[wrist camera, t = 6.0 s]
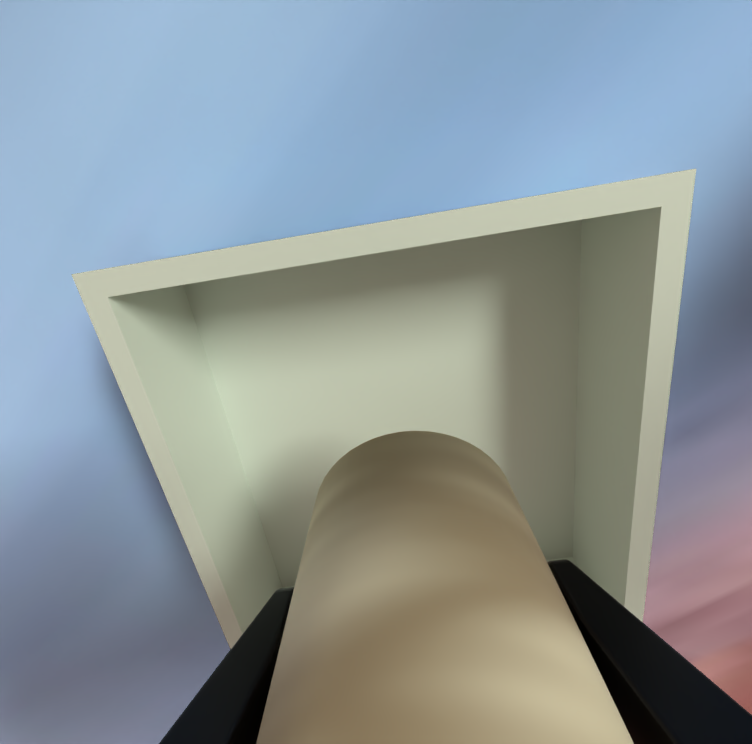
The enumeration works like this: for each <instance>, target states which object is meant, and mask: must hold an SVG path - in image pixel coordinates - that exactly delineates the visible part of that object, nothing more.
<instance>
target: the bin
mask: <svg viewBox="0 0 752 744" xmlns="http://www.w3.org/2000/svg"><path fill="white" fill-rule="evenodd" d="M695 174H696V169H691V170H685V171H679V172H673V173H668V174H662V175H656V176H650V177H644V178H638V179H632V180H626V181H620V182H614V183H609V184H603V185H597V186H591V187H585V188H579V189H573V190H567V191H561V192H555V193H549V194H544V195H538V196H532V197H526V198H520V199H514V200H508V201H502V202H496V203H490V204H484V205H479V206H473V207H467V208H461V209H455V210H449V211H443V212H437V213H431V214H425V215H419V216H414V217H408V218H402V219H396V220H390V221H384V222H378V223H372V224H366V225H360V226H355V227H349V228H343V229H337V230H331V231H325V232H319V233H313V234H307V235H301V236H295V237H290V238H284V239H278V240H272V241H266V242H260V243H254V244H248V245H242V246H236V247H230V248H225V249H219V250H213V251H207V252H201V253H195V254H189V255H183V256H177V257H171V258H165V259H160V260H154V261H148V262H142V263H136V264H130V265H124V266H118V267H112V268H106V269H101V270H95V271H89V272H83V273H77V274H72V277H73V279H74V281H75V284H76V286H77V289H78V291H79V293H80V296H81V298H82V300H83V303H84V305H85V307H86V310H87V312H88V314H89V317H90V319H91V322H92V324H93V326H94V329H95V331H96V333H97V336H98V338H99V340H100V343H101V345H102V347H103V350H104V352H105V355H106V357H107V359H108V362H109V364H110V366H111V369H112V371H113V373H114V376H115V378H116V380H117V383H118V385H119V388H120V390H121V392H122V395H123V397H124V399H125V402H126V404H127V406H128V409H129V411H130V413H131V416H132V418H133V421H134V423H135V425H136V428H137V430H138V432H139V435H140V437H141V439H142V442H143V444H144V446H145V449H146V451H147V454H148V456H149V458H150V461H151V463H152V465H153V468H154V470H155V472H156V475H157V477H158V479H159V482H160V484H161V487H162V489H163V491H164V494H165V496H166V498H167V501H168V503H169V505H170V508H171V510H172V512H173V515H174V517H175V520H176V522H177V524H178V527H179V529H180V531H181V534H182V536H183V538H184V541H185V543H186V545H187V548H188V550H189V553H190V555H191V557H192V560H193V562H194V564H195V567H196V569H197V571H198V574H199V576H200V578H201V581H202V583H203V585H204V588H205V590H206V593H207V595H208V597H209V600H210V602H211V604H212V607H213V609H214V611H215V614H216V616H217V618H218V621H219V623H220V626H221V628H222V630H223V633H224V635H225V637H226V640H227V642H228V644H229V647H230V649H232V647H233V646H234V645H235V643H236V642H237V641H238V639H239V638H240V637H241V635H242V634H243V633H244V632H245V630H246V629H247V628H248V626H249V625H250V624H251V622H252V621H253V620H254V618H255V617H256V616H257V614H258V613H259V612H260V611H261V609H262V608H263V607H264V605H265V604H266V603H267V601H268V600H269V599H270V597H271V596H272V595H273V593H274V592H275V591H276V590H278V589H280V588H288V587H295V583H296V579H297V575H298V570H299V566H300V562H301V558H302V554H303V550H304V546H305V542H306V538H307V534H308V530H309V525H310V521H311V517H312V513H313V509H314V505H315V501H316V497H317V494H318V491H319V488H320V486H321V483H322V481H323V479H324V477H325V476H326V475H327V473H328V472H329V470H330V469H331V468H332V467H333V465H334V464H335V463H336V462H337V461H338V460H339V459H340V458H341V457H343V456H344V455H345V454H346V453H348V452H349V451H350V450H352V449H354V448H355V447H357V446H359V445H360V444H362V443H364V442H367V441H369V440H371V439H373V438H376V437H380V436H383V435H386V434H391V433H396V432H403V431H430V432H437V433H443V434H446V435H450V436H453V437H457V438H459V439H462V440H464V441H466V442H469V443H470V444H472V445H474V446H476V447H477V448H479V449H481V450H482V451H483V452H484V453H486V454H487V455H488V456H489V457H491V458H492V459H493V460H494V462H495V463H496V464H497V465H498V466H499V467H500V469H501V470H502V471H503V473H504V474H505V476H506V478H507V480H508V482H509V484H510V486H511V488H512V490H513V492H514V494H515V496H516V499H517V501H518V503H519V505H520V507H521V509H522V511H523V513H524V515H525V517H526V519H527V522H528V524H529V526H530V528H531V530H532V532H533V534H534V536H535V538H536V540H537V542H538V544H539V547H540V549H541V551H542V553H543V555H544V557H545V559H546V561H547V562H548V561H552V560H562V559H567V560H569V561H571V562H572V563H573V564H575V565H576V566H577V567H578V568H579V569H580V570H582V571H583V572H584V573H585V574H586V575H587V576H589V577H590V578H591V579H592V580H593V581H595V582H596V583H597V584H598V585H599V586H600V587H602V588H603V589H604V590H605V591H606V592H607V593H609V594H610V595H611V596H612V597H613V598H615V599H616V600H617V601H618V602H619V603H620V604H622V605H623V606H624V607H625V608H626V609H627V610H629V611H630V612H631V613H632V614H633V615H635V616H636V617H637V618H638V619H639V620H640V621H642V622H643V614H644V606H645V597H646V589H647V580H648V572H649V563H650V555H651V547H652V538H653V530H654V521H655V513H656V504H657V496H658V487H659V479H660V470H661V462H662V454H663V445H664V437H665V428H666V420H667V411H668V403H669V394H670V386H671V377H672V369H673V361H674V352H675V344H676V335H677V327H678V318H679V310H680V301H681V293H682V284H683V276H684V268H685V259H686V251H687V242H688V234H689V225H690V217H691V208H692V200H693V191H694V183H695Z"/></svg>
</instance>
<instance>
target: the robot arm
mask: <svg viewBox="0 0 752 744" xmlns="http://www.w3.org/2000/svg"><path fill="white" fill-rule="evenodd" d="M547 563H548V565H549V567H550V569H551V572H552V574H553V576H554V578H555V580H556V582H557V584H558V586H559V588H560V590H561V592H562V595H563V597H564V599H565V601H566V603H567V605H568V607H569V609H570V611H571V613H572V615H573V617H574V620H575V622H576V624H577V626H578V628H579V630H580V632H581V634H582V636H583V638H584V640H585V642H586V645H587V647H588V649H589V651H590V653H591V655H592V657H593V659H594V661H595V663H596V665H597V667H598V670H599V672H600V674H601V676H602V678H603V680H604V682H605V684H606V686H607V688H608V690H609V693H610V695H611V697H612V699H613V701H614V703H615V705H616V707H617V709H618V711H619V713H620V715H621V718H622V720H623V722H624V724H625V726H626V728H627V730H628V732H629V734H630V736H631V738H632V740H633V743H634V744H752V715H751V714H750V713H749V712H747V711H746V710H745V709H744V708H743V707H742V706H740V705H739V704H738V703H737V702H736V701H734V700H733V699H732V698H731V697H730V696H729V695H727V694H726V693H725V692H724V691H723V690H722V689H720V688H719V687H718V686H717V685H716V684H714V683H713V682H712V681H711V680H710V679H709V678H707V677H706V676H705V675H704V674H703V673H702V672H700V671H699V670H698V669H697V668H696V667H694V666H693V665H692V664H691V663H690V662H689V661H687V660H686V659H685V658H684V657H683V656H682V655H680V654H679V653H678V652H677V651H676V650H674V649H673V648H672V647H671V646H670V645H669V644H667V643H666V642H665V641H664V640H663V639H662V638H660V637H659V636H658V635H657V634H656V633H655V632H653V631H652V630H651V629H650V628H649V627H647V626H646V625H645V624H644V623H643V622H642V621H640V620H639V619H638V618H637V617H636V616H635V615H633V614H632V613H631V612H630V611H629V610H627V609H626V608H625V607H624V606H623V605H622V604H620V603H619V602H618V601H617V600H616V599H615V598H613V597H612V596H611V595H610V594H609V593H607V592H606V591H605V590H604V589H603V588H602V587H600V586H599V585H598V584H597V583H596V582H595V581H593V580H592V579H591V578H590V577H589V576H587V575H586V574H585V573H584V572H583V571H582V570H580V569H579V568H578V567H577V566H576V565H575V564H573V563H572V562H571V561H569V560H567V559H562V560H552V561H548V562H547ZM293 591H294V587H288V588H280V589H278V590H276V591H275V592H274V593H273V595H272V596H271V597H270V599H269V600H268V601H267V603H266V604H265V605H264V607H263V608H262V609H261V611H260V612H259V613H258V614H257V616H256V617H255V618H254V620H253V621H252V622H251V624H250V625H249V626H248V628H247V629H246V630H245V632H244V633H243V634H242V635H241V637H240V638H239V639H238V641H237V642H236V643H235V645H234V646H233V647H232V649H231V650H230V651H229V653H228V654H227V655H226V656H225V658H224V659H223V660H222V662H221V663H220V664H219V666H218V667H217V668H216V670H215V671H214V672H213V674H212V675H211V676H210V677H209V679H208V680H207V681H206V683H205V684H204V685H203V687H202V688H201V689H200V691H199V692H198V693H197V695H196V696H195V697H194V699H193V700H192V701H191V702H190V704H189V705H188V706H187V708H186V709H185V710H184V712H183V713H182V714H181V716H180V717H179V718H178V720H177V721H176V722H175V723H174V725H173V726H172V727H171V729H170V730H169V731H168V733H167V734H166V735H165V737H164V738H163V739H162V741H161V742H160V743H159V744H256V742H257V738H258V734H259V730H260V726H261V722H262V718H263V714H264V709H265V705H266V701H267V697H268V693H269V689H270V685H271V681H272V677H273V673H274V669H275V664H276V660H277V656H278V652H279V648H280V644H281V640H282V636H283V632H284V628H285V624H286V619H287V615H288V611H289V607H290V603H291V599H292V595H293Z"/></svg>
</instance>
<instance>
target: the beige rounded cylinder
mask: <svg viewBox="0 0 752 744" xmlns="http://www.w3.org/2000/svg"><path fill="white" fill-rule="evenodd" d="M256 744H634V743H633V740H632V738H631V736H630V734H629V732H628V730H627V728H626V726H625V724H624V722H623V720H622V718H621V715H620V713H619V711H618V709H617V707H616V705H615V703H614V701H613V699H612V697H611V695H610V693H609V690H608V688H607V686H606V684H605V682H604V680H603V678H602V676H601V674H600V672H599V670H598V667H597V665H596V663H595V661H594V659H593V657H592V655H591V653H590V651H589V649H588V647H587V645H586V642H585V640H584V638H583V636H582V634H581V632H580V630H579V628H578V626H577V624H576V622H575V620H574V617H573V615H572V613H571V611H570V609H569V607H568V605H567V603H566V601H565V599H564V597H563V595H562V592H561V590H560V588H559V586H558V584H557V582H556V580H555V578H554V576H553V574H552V572H551V569H550V567H549V565H548V563H547V561H546V559H545V557H544V555H543V553H542V551H541V549H540V547H539V544H538V542H537V540H536V538H535V536H534V534H533V532H532V530H531V528H530V526H529V524H528V522H527V519H526V517H525V515H524V513H523V511H522V509H521V507H520V505H519V503H518V501H517V499H516V496H515V494H514V492H513V490H512V488H511V486H510V484H509V482H508V480H507V478H506V476H505V474H504V473H503V471H502V470H501V469H500V467H499V466H498V465H497V464H496V463H495V462H494V460H493V459H492V458H491V457H489V456H488V455H487V454H486V453H484V452H483V451H482V450H481V449H479V448H477V447H476V446H474V445H472V444H470V443H469V442H466V441H464V440H462V439H459V438H457V437H453V436H450V435H446V434H443V433H437V432H430V431H403V432H396V433H391V434H386V435H383V436H380V437H376V438H373V439H371V440H369V441H367V442H364V443H362V444H360V445H359V446H357V447H355V448H354V449H352V450H350V451H349V452H348V453H346V454H345V455H344V456H343V457H341V458H340V459H339V460H338V461H337V462H336V463H335V464H334V465H333V467H332V468H331V469H330V470H329V472H328V473H327V475H326V476H325V477H324V479H323V481H322V483H321V486H320V488H319V491H318V494H317V497H316V501H315V505H314V509H313V513H312V517H311V521H310V525H309V530H308V534H307V538H306V542H305V546H304V550H303V554H302V558H301V562H300V566H299V570H298V575H297V579H296V583H295V587H294V591H293V595H292V599H291V603H290V607H289V611H288V615H287V619H286V624H285V628H284V632H283V636H282V640H281V644H280V648H279V652H278V656H277V660H276V664H275V669H274V673H273V677H272V681H271V685H270V689H269V693H268V697H267V701H266V705H265V709H264V714H263V718H262V722H261V726H260V730H259V734H258V738H257V742H256Z"/></svg>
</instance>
